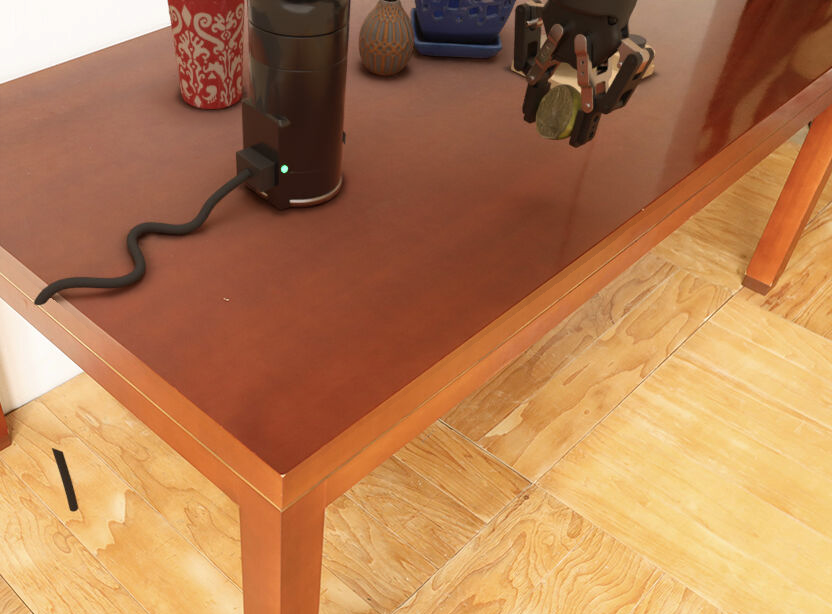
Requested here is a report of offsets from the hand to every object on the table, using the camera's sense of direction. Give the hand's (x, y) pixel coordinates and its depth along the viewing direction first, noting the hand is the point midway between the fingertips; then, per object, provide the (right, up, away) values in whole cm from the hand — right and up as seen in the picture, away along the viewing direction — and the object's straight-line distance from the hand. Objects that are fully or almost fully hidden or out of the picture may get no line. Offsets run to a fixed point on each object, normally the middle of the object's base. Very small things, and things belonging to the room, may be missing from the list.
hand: (555, 131), depth 82 cm
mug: (-35, +11, +21) cm, 42 cm away
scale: (+11, +16, +28) cm, 34 cm away
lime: (0, 0, 0) cm, 1 cm away
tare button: (+17, +18, +26) cm, 36 cm away
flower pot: (-5, +21, +33) cm, 39 cm away
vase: (-15, +16, +27) cm, 34 cm away
